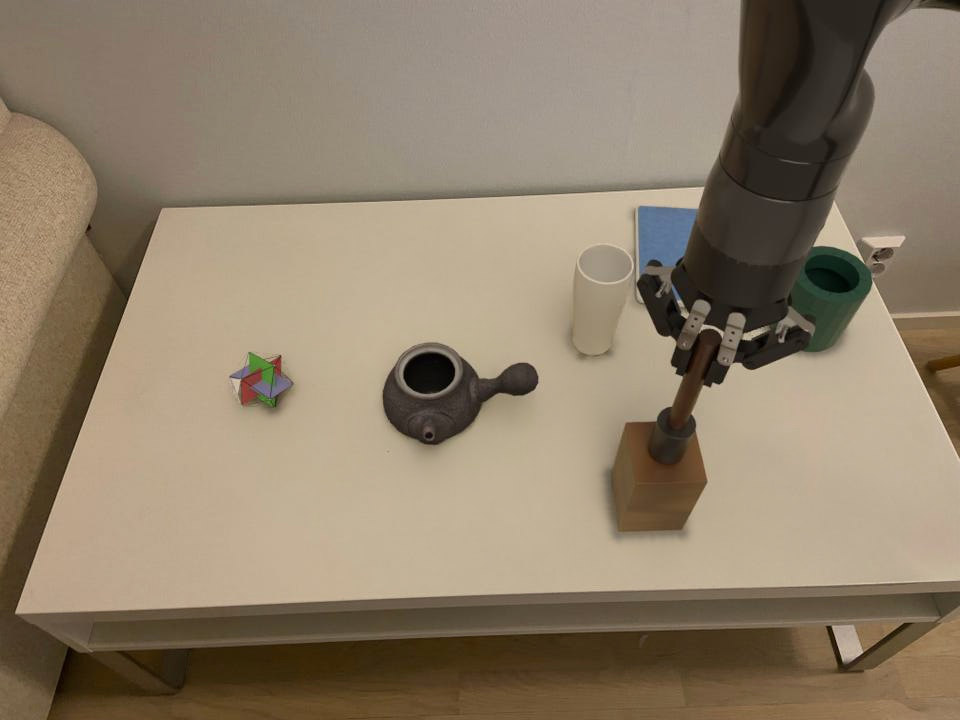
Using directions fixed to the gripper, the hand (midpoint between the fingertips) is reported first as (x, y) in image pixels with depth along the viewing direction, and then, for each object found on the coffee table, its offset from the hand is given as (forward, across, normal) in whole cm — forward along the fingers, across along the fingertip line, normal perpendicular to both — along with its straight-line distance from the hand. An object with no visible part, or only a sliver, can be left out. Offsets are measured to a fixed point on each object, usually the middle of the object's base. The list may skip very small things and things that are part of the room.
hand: (696, 373), depth 59 cm
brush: (+13, 0, 0) cm, 13 cm away
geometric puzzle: (+26, -48, -9) cm, 55 cm away
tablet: (+26, -10, +38) cm, 47 cm away
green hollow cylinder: (+26, +9, +34) cm, 44 cm away
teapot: (+26, -25, 0) cm, 36 cm away
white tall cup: (+26, -15, +18) cm, 35 cm away
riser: (+26, 0, 0) cm, 26 cm away
